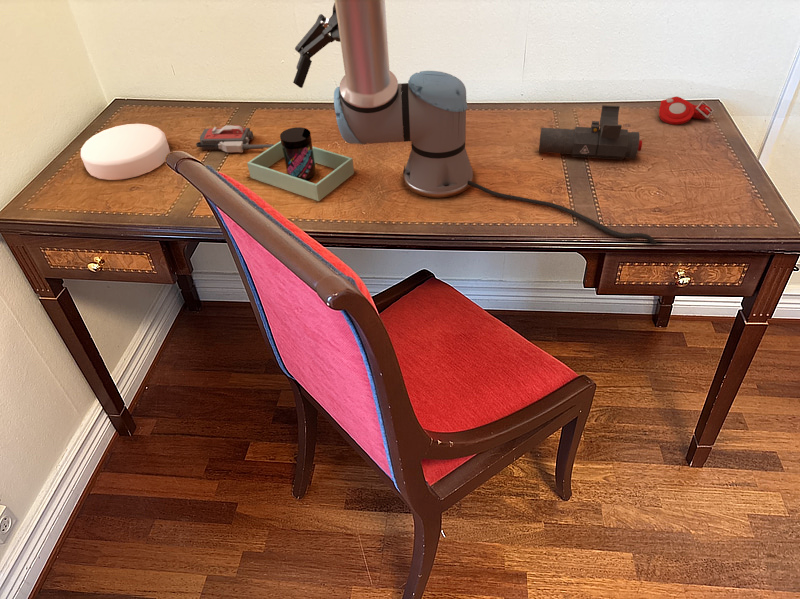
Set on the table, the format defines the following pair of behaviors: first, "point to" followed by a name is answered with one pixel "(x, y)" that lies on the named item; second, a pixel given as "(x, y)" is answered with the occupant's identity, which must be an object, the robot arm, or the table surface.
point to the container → (125, 151)
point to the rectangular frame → (296, 185)
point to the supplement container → (298, 153)
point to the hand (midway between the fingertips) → (320, 91)
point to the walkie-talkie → (228, 139)
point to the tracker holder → (682, 111)
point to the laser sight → (593, 139)
